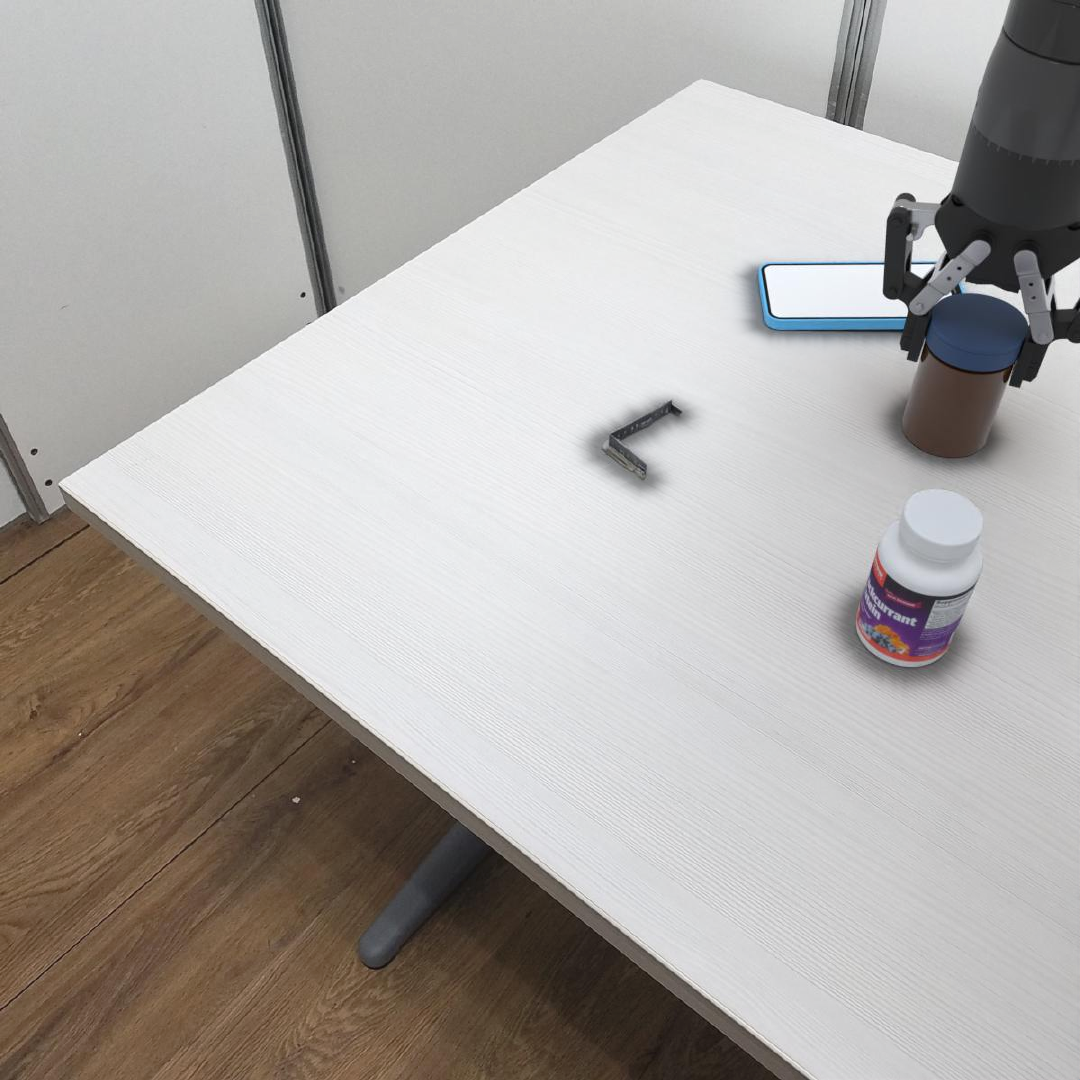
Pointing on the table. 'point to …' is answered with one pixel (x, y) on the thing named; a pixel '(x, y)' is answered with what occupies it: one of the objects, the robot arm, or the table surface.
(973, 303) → the jar lid
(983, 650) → the table surface
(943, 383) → the jar
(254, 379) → the table surface
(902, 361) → the table surface
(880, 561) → the pill bottle
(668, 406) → the bent metal strip
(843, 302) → the smartphone
